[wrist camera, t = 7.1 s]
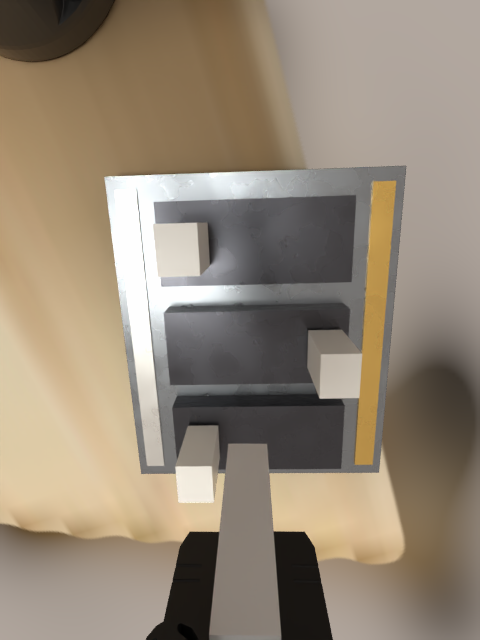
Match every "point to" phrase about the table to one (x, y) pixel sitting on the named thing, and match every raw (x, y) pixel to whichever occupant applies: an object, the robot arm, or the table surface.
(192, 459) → the breaker far
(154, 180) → the panel
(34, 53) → the robot arm
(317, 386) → the block
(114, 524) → the table surface
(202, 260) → the block
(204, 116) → the table surface
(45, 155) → the table surface
